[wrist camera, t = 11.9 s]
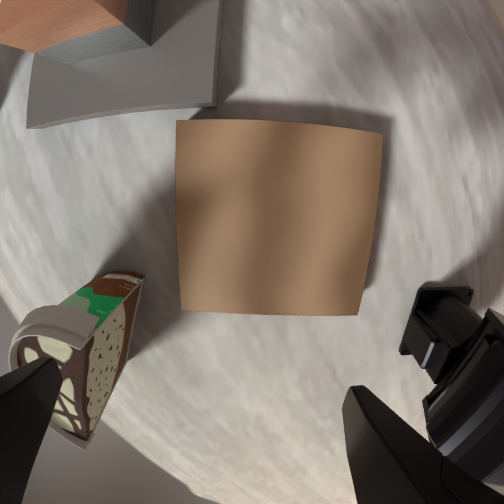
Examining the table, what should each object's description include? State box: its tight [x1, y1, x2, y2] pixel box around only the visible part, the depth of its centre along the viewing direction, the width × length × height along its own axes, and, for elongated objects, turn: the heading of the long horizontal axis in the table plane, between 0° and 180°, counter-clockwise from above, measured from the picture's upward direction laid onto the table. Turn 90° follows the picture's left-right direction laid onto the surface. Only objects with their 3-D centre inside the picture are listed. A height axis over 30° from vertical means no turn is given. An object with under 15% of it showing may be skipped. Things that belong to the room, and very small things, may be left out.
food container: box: [8, 271, 145, 451], centre depth 17 cm, size 12×6×10 cm, turn 158°
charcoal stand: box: [26, 0, 224, 129], centre depth 13 cm, size 14×14×2 cm
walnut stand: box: [175, 119, 383, 316], centre depth 18 cm, size 12×12×2 cm
